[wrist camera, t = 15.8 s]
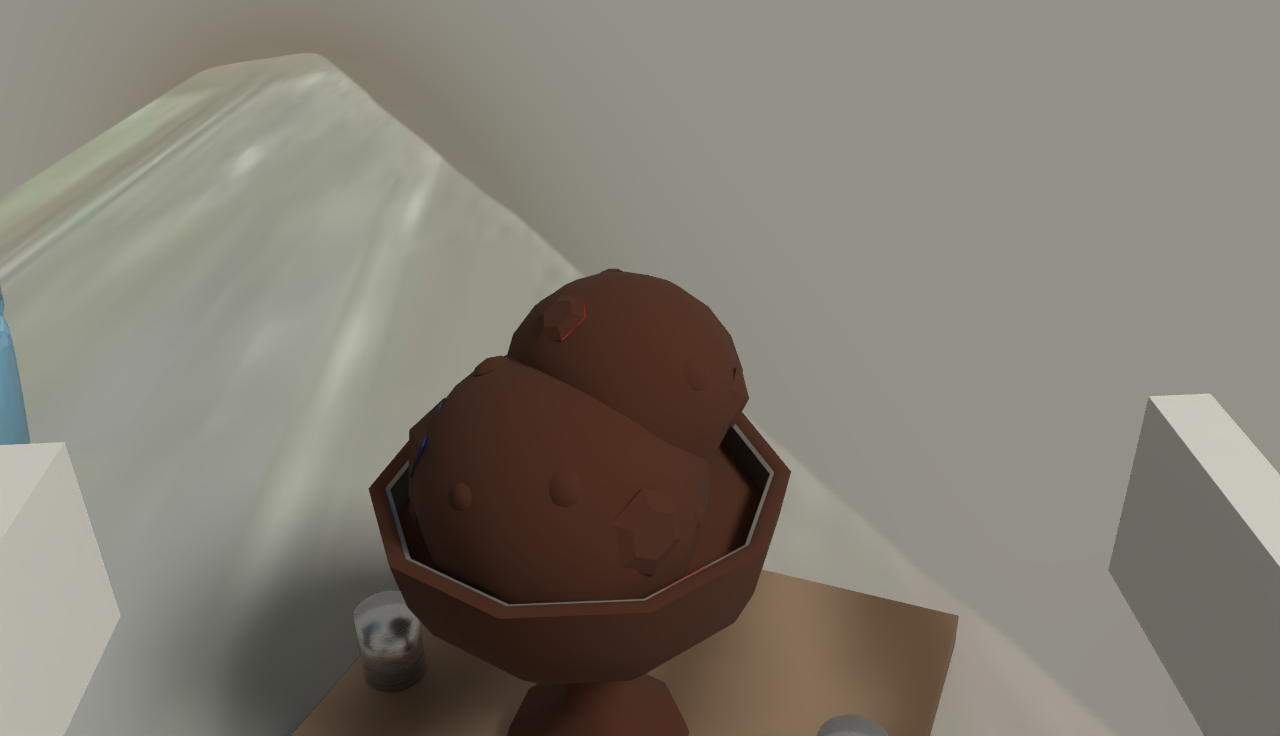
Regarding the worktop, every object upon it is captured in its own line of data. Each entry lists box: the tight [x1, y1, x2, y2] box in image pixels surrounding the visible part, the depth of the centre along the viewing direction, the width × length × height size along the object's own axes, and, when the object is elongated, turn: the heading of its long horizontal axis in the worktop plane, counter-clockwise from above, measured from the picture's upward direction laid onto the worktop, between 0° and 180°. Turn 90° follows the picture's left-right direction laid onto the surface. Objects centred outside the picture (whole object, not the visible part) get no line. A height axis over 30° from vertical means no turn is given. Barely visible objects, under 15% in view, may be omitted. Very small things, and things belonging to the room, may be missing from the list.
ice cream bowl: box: [369, 269, 791, 736], centre depth 33 cm, size 11×11×15 cm
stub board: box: [291, 570, 958, 736], centre depth 36 cm, size 18×18×4 cm
